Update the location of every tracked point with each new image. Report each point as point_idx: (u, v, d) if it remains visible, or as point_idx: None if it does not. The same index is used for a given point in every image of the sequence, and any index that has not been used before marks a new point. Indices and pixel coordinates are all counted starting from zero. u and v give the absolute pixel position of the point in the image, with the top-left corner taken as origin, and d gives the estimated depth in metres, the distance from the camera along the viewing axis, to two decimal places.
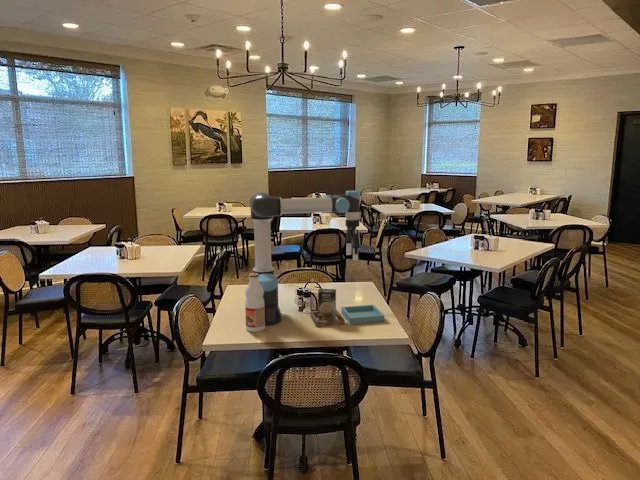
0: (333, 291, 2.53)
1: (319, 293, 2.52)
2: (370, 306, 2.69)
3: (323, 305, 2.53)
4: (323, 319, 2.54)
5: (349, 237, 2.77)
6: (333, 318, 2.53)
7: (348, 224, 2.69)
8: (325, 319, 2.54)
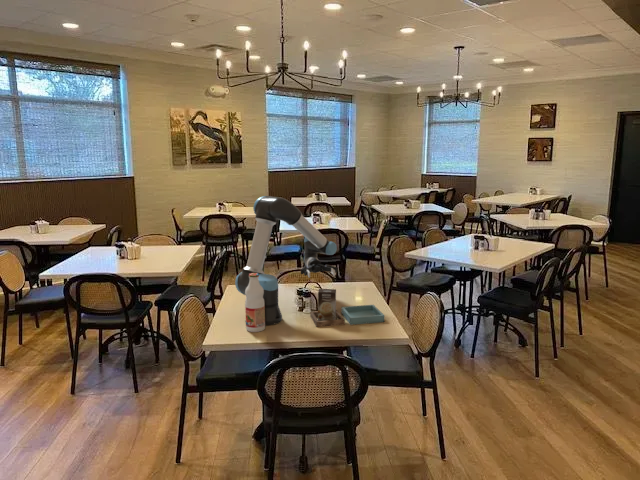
0: (333, 291, 2.53)
1: (319, 293, 2.52)
2: (370, 306, 2.69)
3: (323, 305, 2.53)
4: (323, 319, 2.54)
5: (310, 269, 2.73)
6: (333, 318, 2.53)
7: None
8: (325, 319, 2.54)
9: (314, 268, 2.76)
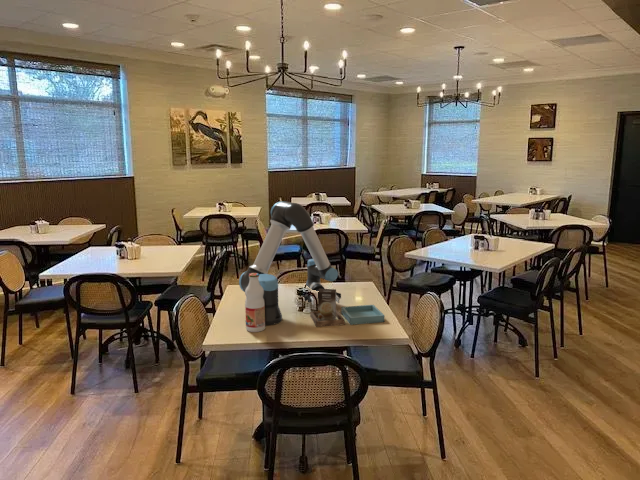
0: (333, 291, 2.53)
1: (319, 293, 2.52)
2: (370, 306, 2.69)
3: (323, 305, 2.53)
4: (323, 319, 2.54)
5: None
6: (333, 318, 2.53)
7: (322, 286, 2.79)
8: (325, 319, 2.54)
9: None
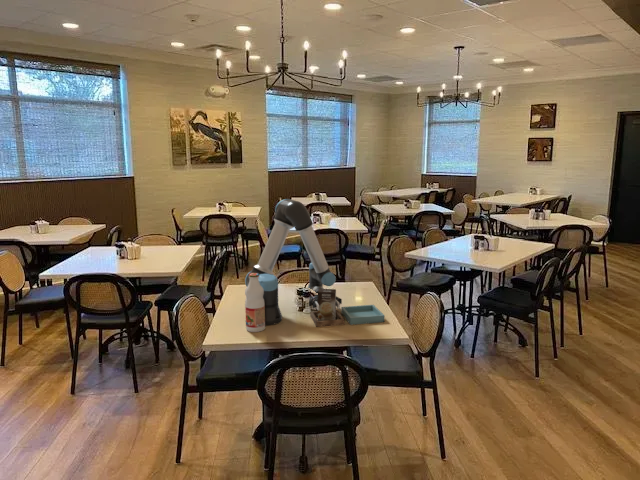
0: (333, 291, 2.53)
1: (319, 293, 2.52)
2: (370, 306, 2.69)
3: (323, 305, 2.53)
4: (323, 319, 2.54)
5: (317, 300, 2.61)
6: (333, 318, 2.53)
7: None
8: (325, 319, 2.54)
9: None
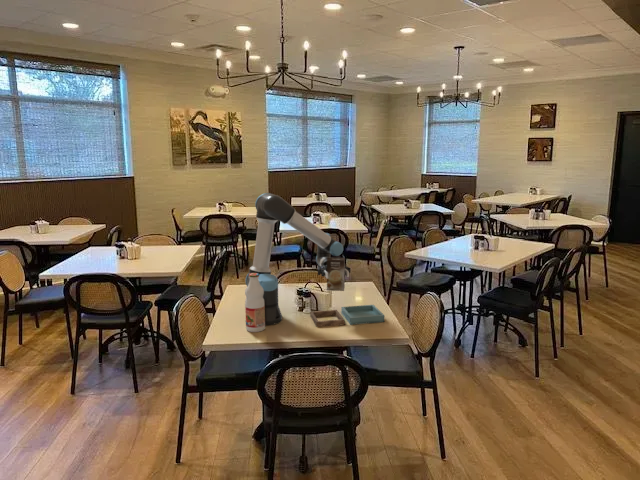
0: (342, 259, 2.51)
1: (328, 261, 2.50)
2: (370, 306, 2.69)
3: (332, 274, 2.51)
4: (332, 288, 2.52)
5: (326, 269, 2.60)
6: (342, 286, 2.52)
7: None
8: (334, 287, 2.52)
9: None
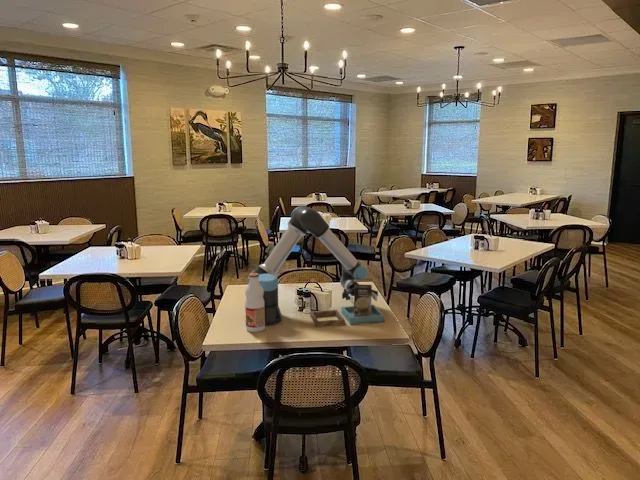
0: (369, 287, 2.56)
1: (355, 289, 2.55)
2: None
3: (359, 301, 2.56)
4: (359, 314, 2.58)
5: (351, 293, 2.65)
6: (369, 313, 2.57)
7: None
8: (361, 314, 2.58)
9: None
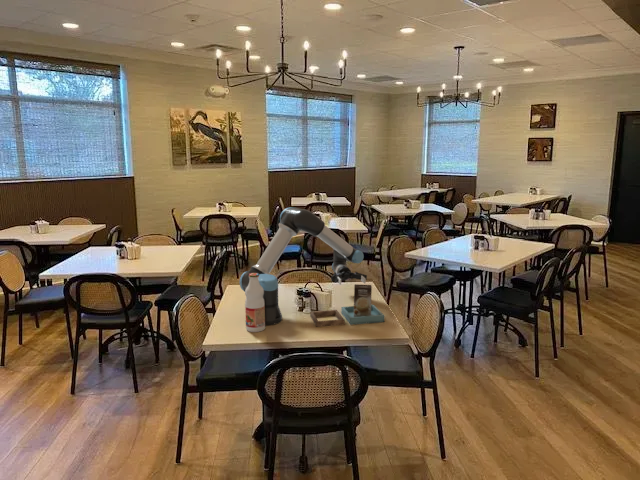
0: (369, 287, 2.56)
1: (355, 289, 2.55)
2: None
3: (359, 301, 2.56)
4: (359, 314, 2.58)
5: (340, 276, 2.79)
6: (369, 313, 2.57)
7: (348, 268, 2.88)
8: (361, 314, 2.58)
9: (344, 275, 2.81)
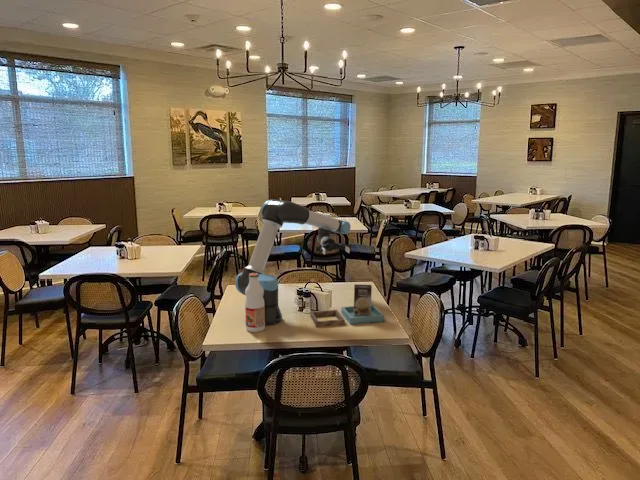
0: (369, 287, 2.56)
1: (355, 289, 2.55)
2: None
3: (359, 301, 2.56)
4: (359, 314, 2.58)
5: (325, 247, 2.80)
6: (369, 313, 2.57)
7: None
8: (361, 314, 2.58)
9: (328, 246, 2.83)
